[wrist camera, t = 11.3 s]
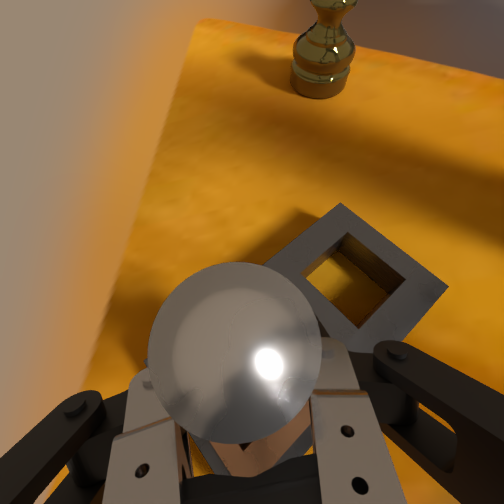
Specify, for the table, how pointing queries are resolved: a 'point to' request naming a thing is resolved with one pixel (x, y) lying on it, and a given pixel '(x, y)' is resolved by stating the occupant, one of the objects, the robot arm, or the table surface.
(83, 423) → the robot arm
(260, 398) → the steel peg
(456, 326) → the table surface
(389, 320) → the block with square holes
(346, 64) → the bronze chess pawn
